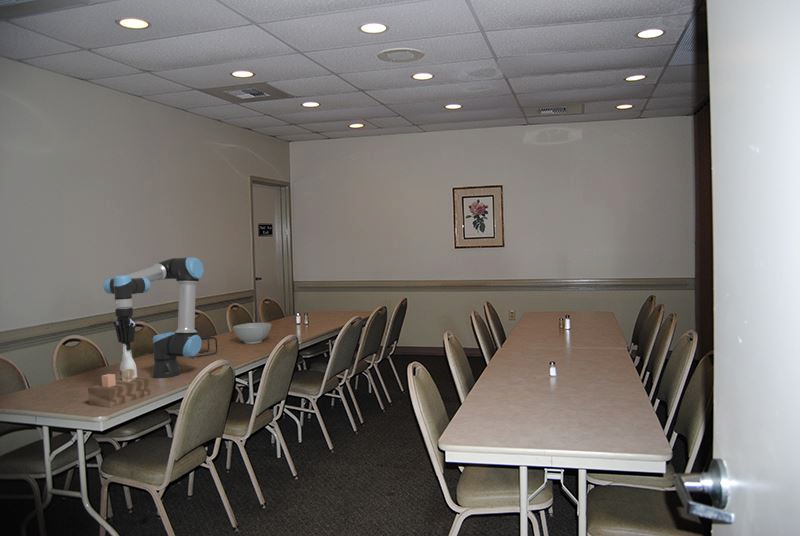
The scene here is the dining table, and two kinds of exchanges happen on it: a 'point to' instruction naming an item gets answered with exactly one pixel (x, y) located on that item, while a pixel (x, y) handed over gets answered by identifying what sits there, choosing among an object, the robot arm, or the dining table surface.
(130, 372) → the birch peg
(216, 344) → the dark open wire frame
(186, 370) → the dining table surface
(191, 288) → the robot arm
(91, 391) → the walnut block
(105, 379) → the clay peg
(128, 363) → the milk bottle
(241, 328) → the decorative bowl
